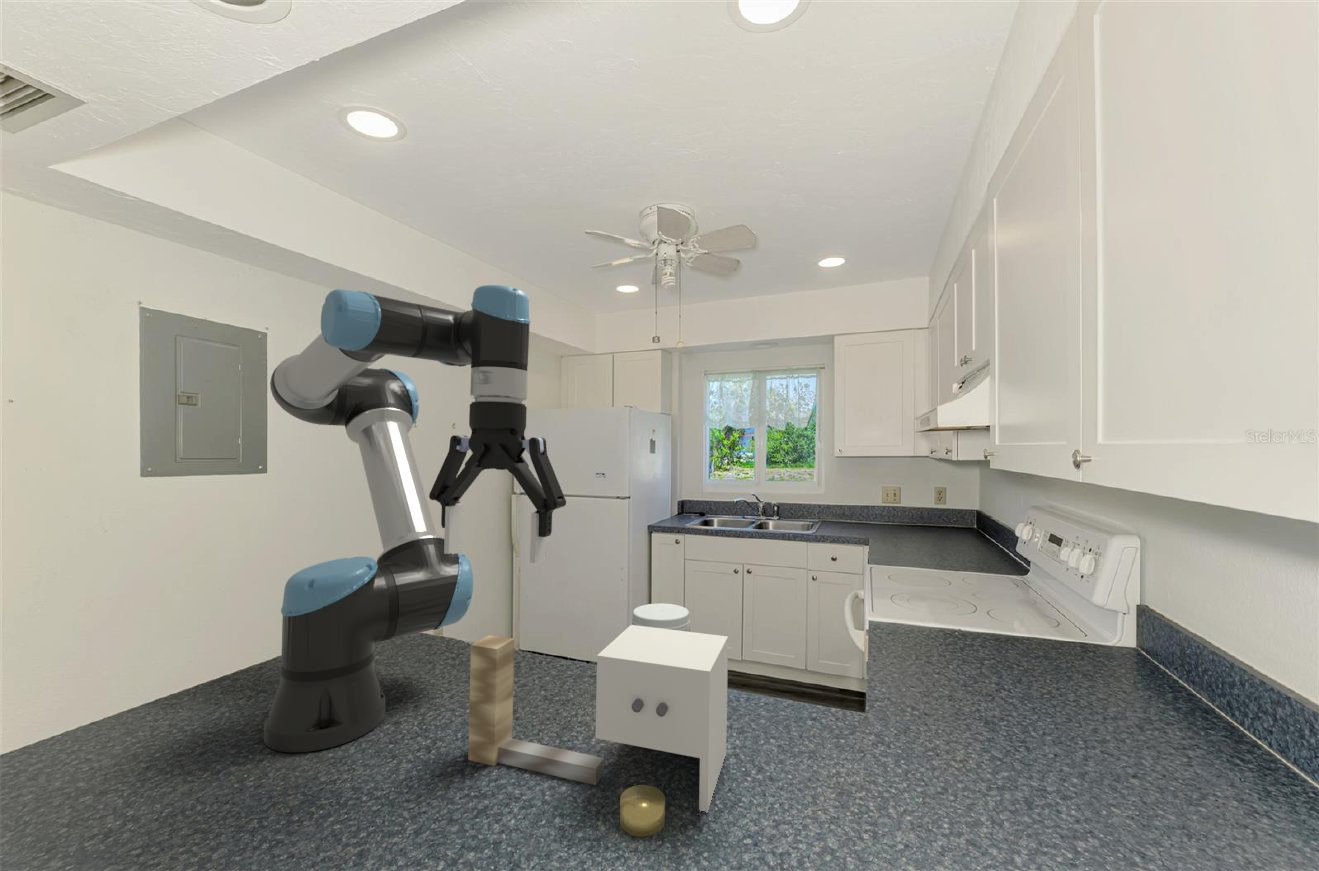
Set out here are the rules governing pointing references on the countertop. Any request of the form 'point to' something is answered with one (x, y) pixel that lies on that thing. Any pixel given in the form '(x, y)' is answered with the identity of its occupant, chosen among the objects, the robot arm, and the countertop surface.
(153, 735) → the countertop surface
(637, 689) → the cabinet
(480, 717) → the scraper tool
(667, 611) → the supplement tub
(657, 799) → the cylinder
